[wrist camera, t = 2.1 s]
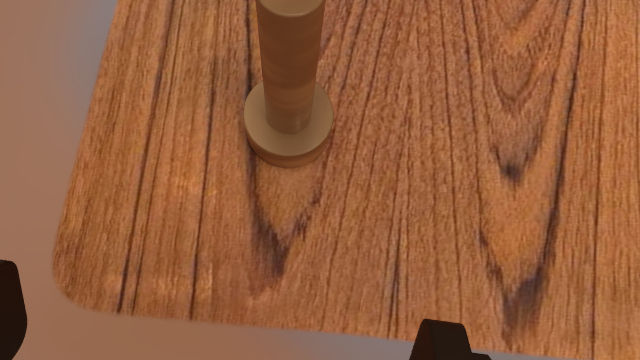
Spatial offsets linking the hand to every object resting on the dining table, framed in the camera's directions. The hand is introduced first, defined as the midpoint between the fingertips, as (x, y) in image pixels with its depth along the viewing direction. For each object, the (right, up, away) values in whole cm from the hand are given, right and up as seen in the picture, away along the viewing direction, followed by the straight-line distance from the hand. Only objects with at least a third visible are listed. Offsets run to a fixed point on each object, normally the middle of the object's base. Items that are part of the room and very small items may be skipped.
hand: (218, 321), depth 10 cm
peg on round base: (0, +6, +17) cm, 18 cm away
